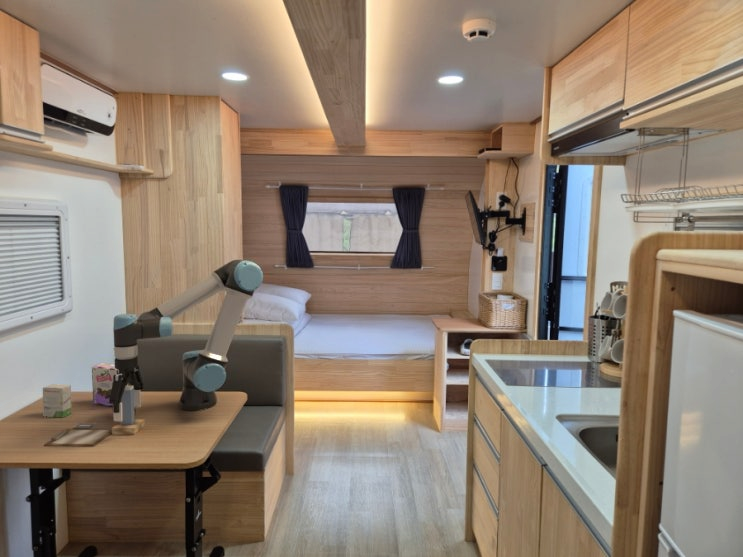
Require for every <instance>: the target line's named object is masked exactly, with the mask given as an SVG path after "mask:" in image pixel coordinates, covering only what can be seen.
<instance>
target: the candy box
mask: <svg viewBox="0 0 743 557" xmlns="http://www.w3.org/2000/svg"><path fill="white" fill-rule="evenodd" d="M118 374H119V370H118V369H116V368H115V364H112V363H104V362H101V363H97V364H96V365H92V366H91V379H92V380H91V382H92V403H93V404H94V405H100V406H104V407H105V406H106V407H111V408H113V404H109V399H110V394H111V390H112V385H113V376H114V375H118Z"/></svg>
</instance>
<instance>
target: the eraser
mask: <svg viewBox="0 0 743 557" xmlns="http://www.w3.org/2000/svg"><path fill="white" fill-rule="evenodd" d="M121 403H122V425H133V424H134V423H135V417H136V414H135V413H134V386H132V385H129V384H128V385H127V386H125V390H124V393H123V396H122V399H121Z"/></svg>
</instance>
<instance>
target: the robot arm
mask: <svg viewBox="0 0 743 557" xmlns="http://www.w3.org/2000/svg"><path fill="white" fill-rule="evenodd" d="M263 281H264V273H263V271H262V268H261V267H260V266H259V265H258V264H257V263H255V262H254V261H251V260H242V259H233V260H231V261H229V262H227V263H226V264H224V265H222V266H221V267H218V268H217V269H215V270H214V271H212V272H211V275H210V276H208V277H206V278H205V279H203V280H201V281H199V282H197V283H196V284H194V285H192V286H191V287H190V288H188V289H186V290H184V291H181V293H178V294H176V295H175V296H174V297H172V298H170V299H168V300H167V301H165V302H162V303H161V304H160V305H157V306H156V307H155V308H153V309H151V310H149V311H148V310H147V311H143V312H142V313H140V314H139V315H138V317H137V315H136V314H135V313H122V314H121V313H120V314H117V315H115V316H114V317H113V327H112V330H113V331H112V332H113V352H114V354H113V355H114V357H115V358H114V365H115V368H116V369H118V370H119V374H118V375H114V376H113V385H112V390H111V394H110V399H109V404H113V407H112V410H113V412H112V413H113V414H112V415H113V421H114V422H120V421H122V403H120V402H121V399H122V396H123V393H124V390H125V386H127V385H128V386H129V385H130V386H134V389H135V390H134V407H136V408H141V407H142V401H141V398H142V397H141V395H142V394H141V390H143V389H144V380H143V378H142V374H141V371H140V365H139V359H138V358H139V357H138V355H139V354H138V353H139V352H138V351H139V350H138V341H139V340H146V339H147V340H148V339H150V340H151V339H157V338H158V339H159V338H162V339H163V338H166V337H167V338H168V337H171V336H172V334H173V331H174V330H173V329H174V327H173V320H174V319H175V318H178V317H179V316H181V315H182V314H184V313H186V312H188V311H189V310H192V309H193V308H194V307H196V306H198V305H200V304H201V303H203V302H204V301H206V300H209V299H210V298H211V297H213V296H214V295H216V294H218V293H220V292H226V294H225V296H224V298H223V301H222V304H221V307H220V310H219V312H218V314H217V317H216V319H215V322H214V323H213V327H212V330H211V331H210V335H209V337H208V340H207V343H206V344H205V347H204V349H200V350H199V349H198V350H190V351H186V352H184V353H183V354H182V359H181V361H182V381H183V382H182V385H183V388H182V392H181V394H180V398H179V400H178V403H179V404H178V406H179V408H180V409H181V410H184V411H202V410H205V408H207V409H209V407H210V408H212V407H215V406H216V405H217V404H216V403H218V396H217V394H216V391H217V390H218V389H220V388H221V387H222V386H223V385H224V383H225V381H226V378H227V372H226V367H227V364H228V362H229V359H228V358H227V353H228V351H229V348H230V345H231V343H232V340H233V338H234V335H235V334H236V330H237V328H238V324H239V323H240V322H239V321H240V319H241V316H242V313H243V311H244V310H245V309H244V308H245V306H246V303H247V301H248V300H249V299H251V298H253V296H254V293H255V291H257V289H258V288H260V287H261V285H262V284H263ZM215 404H216V405H215ZM201 409H202V410H201Z"/></svg>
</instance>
